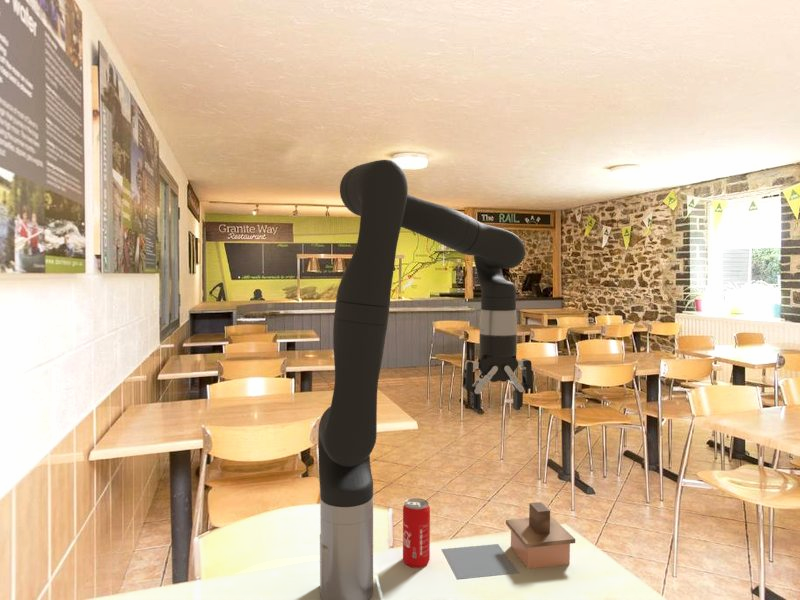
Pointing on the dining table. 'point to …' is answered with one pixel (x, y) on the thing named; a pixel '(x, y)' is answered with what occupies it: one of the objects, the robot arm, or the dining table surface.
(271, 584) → the dining table surface
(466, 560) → the mat
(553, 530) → the lid
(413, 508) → the beverage can
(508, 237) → the robot arm
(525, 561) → the open salmon box
